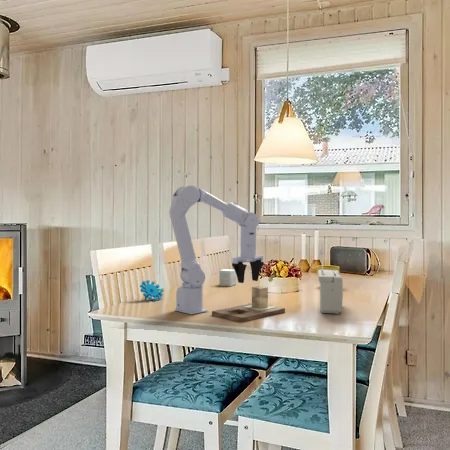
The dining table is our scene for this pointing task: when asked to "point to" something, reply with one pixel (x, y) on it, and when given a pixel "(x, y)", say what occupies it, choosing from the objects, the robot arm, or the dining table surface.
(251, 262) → the robot arm
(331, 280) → the stereo radio cassette player
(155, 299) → the gear
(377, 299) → the dining table surface
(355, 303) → the dining table surface
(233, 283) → the product box
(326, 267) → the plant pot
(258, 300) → the maple block
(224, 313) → the pocket board
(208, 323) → the dining table surface
